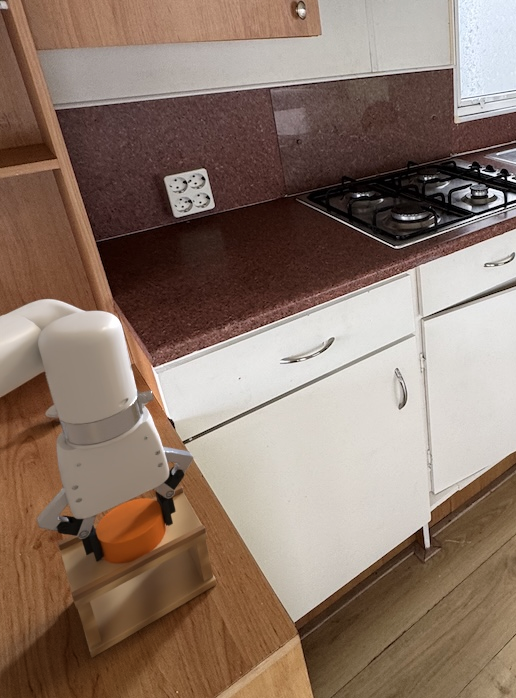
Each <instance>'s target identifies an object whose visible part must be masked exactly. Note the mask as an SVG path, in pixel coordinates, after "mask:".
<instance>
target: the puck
mask: <svg viewBox="0 0 516 698" xmlns="http://www.w3.org/2000/svg"><path fill="white" fill-rule="evenodd" d="M165 532H166V525H165V521H164V517H163V513H162V508H161V506H160V504H159V503H158V502H157V501H155V500H153V499H151V498H145V497H144V498H134V499H130V500H128V501H126V502H124V503H121V504H119V505H117V506H115V507H113V508H111V509H110V511H108V512H107V513H106V514H105V515H104V516H103V517H102V518H101V519H100V520H99V522H98V525H97V527H96V534H97V537H98V541H99V544H100V548H101V551H102V555H103V559H104V560H106V561H108V562H110V563H126V562H130V561H133V560H135V559H137V558H139V557H141V556H143V555H145V554H147V553H149V552H150V551H152V550H153V549H154V548H155V547H156V546H157V545H158V544H159V543H160V542H161V540H162V539H163V537H164V535H165Z"/></svg>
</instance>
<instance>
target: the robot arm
mask: <svg viewBox="0 0 516 698" xmlns="http://www.w3.org/2000/svg"><path fill="white" fill-rule="evenodd" d="M45 371H46V372H45ZM42 373H45V374H46V375H45V376H46V377H47V378H48V381H47V383H48V382H49V384H48V385H50V387H49V388H50V389H51V392H52V395H51V397H52V396H53V398H52V399H54V403H53V404H55V406H56V409H57V413H58V416H59V420H60V422H59V423H60V426H61V427H60V428H61V430H62V431H61V432H60V433H59V435H58V436H56V437H57V438H56V460H57V466H58V470H59V476H60V481H61V484H62V488H61V489H60V490H59V491H58V493H57V494H56V495H55V496H54V497H53V499H51V501H50V502H49V503H48V504H47V506H46V507H45V508H44V509H42V511H41V512H40V514H38V516H37V517H36V522H37V526H38V528H40V529H43V530H48V531H51V532H52V531H54V532H57V533H58V534H61V535H67V536H71V535H74V536H78V538H79V539H82V542H83V546H84V549H85V552H86V555H89V554H91V553H94V556H95V559H96V562H98V561H100V560H102V559H101V558H103V555H102V551H101V548H100V544H99V541H98V537H97V534H96V531H95V528H94V525H95V521H96V518H97V516H98V515H99V514H102V513H104V512H105V511H108V510H111V509H113V508H116V507H117V506H119V505H121V504H123V503H126V502H128V501H131V500H133V499H135V498H136V497H139V496H141V495H143V494H145V493H147V492H149V491H152V490H153V491H154V494H155V497H156V498H157V502H158V503H159V504H160V506H161V508H162V513H163V517H164V521H165V524H166V526H167V525H168V526H170V525H172V524H173V521H172V517H171V514H172V513H174V512H176V510H175V506H174V501H173V496H174V494H175V491H174V490H175V489H176V487H177V486H179V485H180V483H181V482H182V480H183V479H184V477H185V473H186V471H188V469H189V467H190V466H191V464H192V463H193V461H194V456H193V454H192V452H190V451H189V450H183V449H179V448H173V447H167V446H163V443H162V440H161V437H160V434H159V431H158V430H157V426H156V425H155V422H154V419H153V417H152V414H151V413H150V411H149V409H148V408H147V406H145V405H148V403H150V402H154V401H155V397H154V394H153V392H152V390H151V389H149V390H146V391H140V390H138V389H137V385H136V381H135V376H134V372H133V368H132V363H131V359H130V354H129V350H128V346H127V341H126V337H125V333H124V328H123V325H122V323H121V320H119V318H118V317H117V316H116V315H114V314H113V313H111V312H107V311H103V310H83V309H81V308H79V307H76V306H74V305H72V304H69V303H66V302H65V301H62V300H58V299H52V298H45V299H44V298H43V299H38V300H34V301H32V302H29V303H26V304H25V305H22V306H20V307H18V308H16V309H13V310H11V311H10V312H8V313H6V314H2V315H0V398H2V397H4V396H6V395H7V394H9V393H10V392H12V391H15V390H16V389H17V388H19V387H20V386H22V385H24V384H25V383H27V382H29V381H30V380H32V379H34V378H35V377H37V376H38V375H40V374H42ZM47 378H46V379H47ZM50 389H49V390H50ZM51 392H50V393H51ZM169 463H173V464H174V465H173V466H172V467H171V468H169ZM67 506H68V507H69V510H70V512H71V514H72V516H70V515H60V514H61V513H62V512H63V511H64V510H65V509H66V508H67Z"/></svg>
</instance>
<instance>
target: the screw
mask: <svg viewBox="0 0 516 698" xmlns="http://www.w3.org/2000/svg"><path fill="white" fill-rule="evenodd" d="M44 373H45V374H44V375H45V379H46V382H47V386H48V387H49V388H48V390H49V392H50V395H51V398H52V399H51V400H52V403H53V405H51V406H50V407H49V408H48V409H47V410H45V417H46V418H47V419H50V420H51V419H52V420H54V421H55V423H60V420H59V416H58V413H57V409H56V406H55V403H54V399H53V396H52V392H51V389H50V385H49V382H48V378H47V375H46V371H45V372H44Z"/></svg>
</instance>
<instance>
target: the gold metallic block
mask: <svg viewBox="0 0 516 698" xmlns="http://www.w3.org/2000/svg"><path fill="white" fill-rule="evenodd" d="M174 491H175V494H174V496H173V501H174V506H175V510H176V512H174V513H172V514H171V517H172V521H173V524H172V525H170V526H168V525H167V526H166V532H165V535H164V537H163V539H162V540H161V542H160V543H159V544H158V545H157V546H156V547H155V548H154V549H153V550H152V551H150V552H149V553H147V554H145V555H143V556H141V557H139V558H137V559H135V560H133V561H130V562H126V563H110V562H108V561H106V560H104V559H103V558H101V559H102V560H100V561H98V562H96V559H95V556H94V553H91V554H89V555H86V552H85V549H84V546H83V542H82V539H79V538H78V536H74V535H68V536H67V537H65V538H63V539H61V540H59V541H57V546H58V549H59V552H60V556H61V559H62V563H63V567H64V571H65V574H66V577H67V582H68V585H69V590H70V593H71V597H72V600H73V604H74V607H75V609H77V611H78V616H79V618H80V622H81V625H82V629H83V632H84V636H85V639H86V644H87V647H88V650H89V654H90V657H91V658H94V657H96V656H97V655H100V654H102V653H103V652H105V651H106V650H108V649H109V648H111V647H113V646H115V645H117V644H118V643H120V642H122V641H123V640H125V639H127V638H128V637H130V636H131V635H133V634H135V633H137V632H139V631H140V630H142V629H144V628H145V627H147V626H149V625H150V624H152V623H154V622H156V621H157V620H159V619H160V618H162V617H164V616H166V615H167V614H169V613H171V612H172V611H174V610H176V609H178V608H179V607H181V606H183V605H185V604H186V603H188V602H189V601H191V600H193V599H195V598H196V597H198V596H200V595H201V594H203V593H205V592H206V591H208V590H210V589H211V588H213V587H215V586H217V585H218V583H217V578H216V577H215V575H214V572H213V568H212V563H211V558H210V553H209V548H208V547H209V546H208V543H207V539H208V533H207V528H206V527H205V525H204V524H202V522H201V521H200V518H199V517H198V515H197V514H196V512H195V509H194V508H193V506H192V504H191V503H190V501H189V500H188V498H187V496H186V494H185V492H184V487H183V486H182V485H181V484H178V486H177V487H176V489H175V490H174ZM150 499H153V500H155V501H157V498H156V496H153V497H151V498H150ZM98 523H99V522H98ZM98 523H94V524H93V525H94V528H95V531H96V527H97V525H98ZM165 525H166V524H165Z"/></svg>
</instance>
